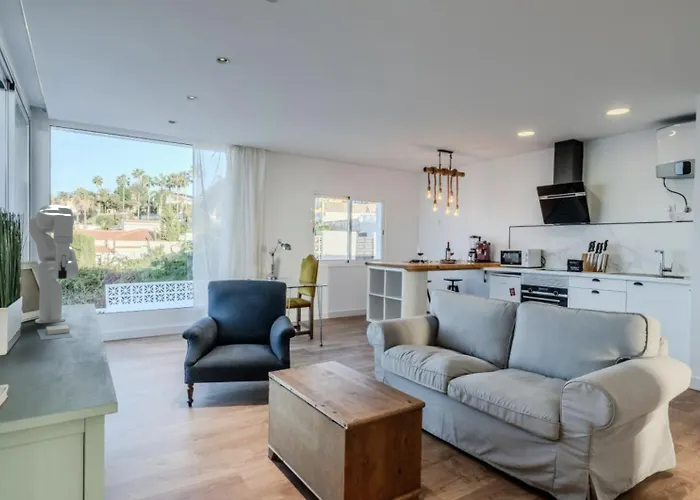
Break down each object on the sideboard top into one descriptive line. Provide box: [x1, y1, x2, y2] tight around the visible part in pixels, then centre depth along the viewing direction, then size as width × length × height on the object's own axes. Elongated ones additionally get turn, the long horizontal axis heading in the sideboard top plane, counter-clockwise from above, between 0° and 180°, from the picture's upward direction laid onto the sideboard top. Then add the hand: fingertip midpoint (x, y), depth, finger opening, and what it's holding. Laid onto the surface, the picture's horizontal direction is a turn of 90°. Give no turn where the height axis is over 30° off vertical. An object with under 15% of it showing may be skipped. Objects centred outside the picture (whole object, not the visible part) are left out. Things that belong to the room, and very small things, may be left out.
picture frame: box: [45, 324, 71, 335], centre depth 189 cm, size 2×8×9 cm
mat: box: [36, 328, 73, 341], centre depth 187 cm, size 24×11×1 cm, turn 41°
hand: (62, 278), depth 196 cm, fingers closed
